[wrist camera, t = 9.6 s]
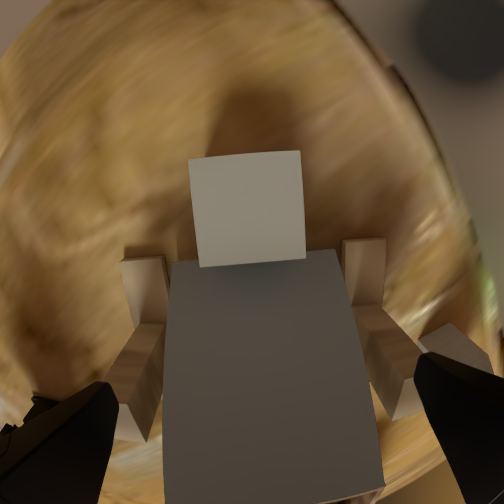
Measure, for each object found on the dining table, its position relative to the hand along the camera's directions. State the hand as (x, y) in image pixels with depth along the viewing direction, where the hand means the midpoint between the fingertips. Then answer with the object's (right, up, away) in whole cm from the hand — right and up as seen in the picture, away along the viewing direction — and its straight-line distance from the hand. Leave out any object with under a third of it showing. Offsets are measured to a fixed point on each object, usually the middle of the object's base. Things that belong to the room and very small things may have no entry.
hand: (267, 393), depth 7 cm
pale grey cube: (0, +4, +9) cm, 10 cm away
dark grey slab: (0, -5, +10) cm, 11 cm away
